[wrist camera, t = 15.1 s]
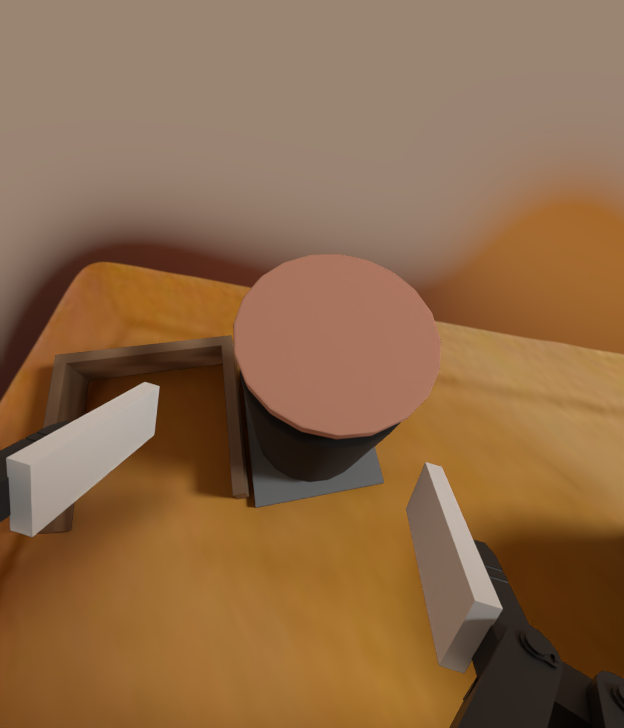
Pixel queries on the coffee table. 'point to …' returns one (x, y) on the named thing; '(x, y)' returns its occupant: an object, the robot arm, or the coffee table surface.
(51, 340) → the coffee table surface
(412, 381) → the coffee jar
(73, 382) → the walnut holder
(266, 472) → the charcoal mat
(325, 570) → the coffee table surface
